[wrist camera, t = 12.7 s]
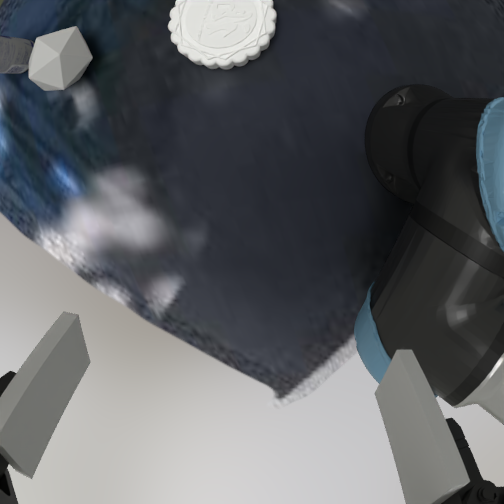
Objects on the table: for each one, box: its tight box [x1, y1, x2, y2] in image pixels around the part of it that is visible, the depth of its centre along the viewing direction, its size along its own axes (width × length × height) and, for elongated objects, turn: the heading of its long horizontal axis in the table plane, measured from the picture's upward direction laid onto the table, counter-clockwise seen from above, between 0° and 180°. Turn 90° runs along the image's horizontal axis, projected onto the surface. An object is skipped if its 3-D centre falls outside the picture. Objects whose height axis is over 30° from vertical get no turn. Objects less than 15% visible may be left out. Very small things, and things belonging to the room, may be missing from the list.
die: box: [29, 26, 93, 91], centre depth 28 cm, size 8×9×10 cm
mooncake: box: [168, 0, 277, 70], centre depth 28 cm, size 12×12×4 cm
